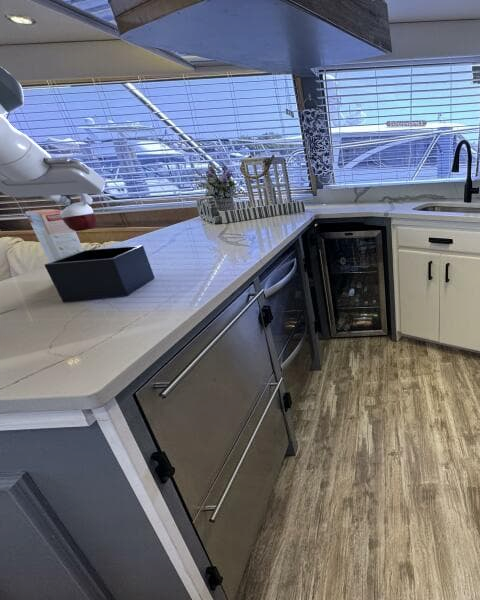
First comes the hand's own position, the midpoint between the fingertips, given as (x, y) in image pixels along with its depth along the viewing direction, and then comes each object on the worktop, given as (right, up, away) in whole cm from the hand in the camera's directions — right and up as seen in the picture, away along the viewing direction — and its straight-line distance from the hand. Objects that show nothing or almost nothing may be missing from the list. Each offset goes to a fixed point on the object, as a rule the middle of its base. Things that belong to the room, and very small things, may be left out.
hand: (78, 202), depth 80 cm
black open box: (+1, -21, +9) cm, 23 cm away
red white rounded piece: (0, -6, +2) cm, 7 cm away
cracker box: (-16, -19, +16) cm, 30 cm away
